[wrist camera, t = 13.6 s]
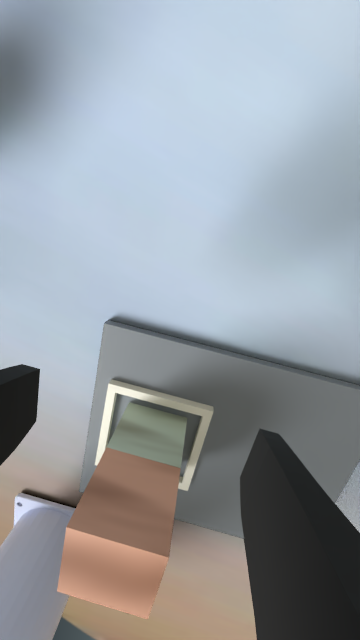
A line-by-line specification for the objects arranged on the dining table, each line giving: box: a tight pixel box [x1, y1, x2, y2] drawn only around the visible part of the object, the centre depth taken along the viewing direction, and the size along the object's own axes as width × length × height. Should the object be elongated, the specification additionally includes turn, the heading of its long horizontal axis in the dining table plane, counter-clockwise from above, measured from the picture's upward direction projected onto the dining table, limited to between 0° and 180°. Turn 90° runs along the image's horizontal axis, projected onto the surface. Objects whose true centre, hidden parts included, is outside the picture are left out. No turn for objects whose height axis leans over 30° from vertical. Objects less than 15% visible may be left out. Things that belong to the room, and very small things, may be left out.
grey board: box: [79, 320, 360, 539], centre depth 20 cm, size 16×20×1 cm
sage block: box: [107, 402, 187, 468], centre depth 18 cm, size 4×4×4 cm
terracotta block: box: [57, 447, 181, 619], centre depth 14 cm, size 4×4×4 cm
